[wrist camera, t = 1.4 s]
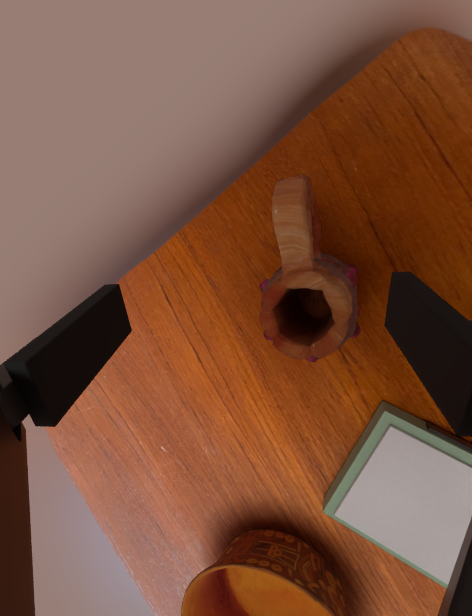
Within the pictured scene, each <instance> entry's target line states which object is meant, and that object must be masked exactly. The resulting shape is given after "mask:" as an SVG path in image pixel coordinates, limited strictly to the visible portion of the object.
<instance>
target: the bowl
mask: <svg viewBox="0 0 472 616" xmlns="http://www.w3.org/2000/svg"><path fill="white" fill-rule="evenodd" d="M181 616H349V612H348V607H347V603H346V599H345V594H344V591H343V588H342V585H341V583H340V581H339V579H338V577H337V576H336V574H335V572H334V570H333V569H332V567H331V566H330V565H329V564H328V563H327V562H326V561H325V559H324V558H323V557H322V556H321V555H320V554H319V553H318V552H317V551H316V550H314V549H313V548H312V547H311V546H309V545H308V544H307V543H305V542H303V541H302V540H300V539H298V538H297V537H295V536H292V535H289V534H287V533H284V532H279V531H274V530H252V531H248V532H245V533H243V534H241V535H239V536H237V537H236V538H234V539H233V540H232V541H231V542H230V543H229V545H228V546H227V547H226V549H225V550H224V552H223V554H222V555H221V557H220V558H219V560H218V561H217V562H216V563H215V564H213V565H211V566H209V567H208V568H206V569H205V570H203V571H202V572H201V573H199V574H198V575H197V576H196V577H195V578H194V579H193V580H192V582H191V583H190V584H189V586H188V588H187V590H186V592H185V595H184V598H183V602H182V607H181Z"/></svg>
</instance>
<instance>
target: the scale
mask: <svg viewBox="0 0 472 616" xmlns="http://www.w3.org/2000/svg"><path fill="white" fill-rule="evenodd" d="M323 512H324V513H325V514H327V515H328V516H330V517H332V518H333V519H335V520H336V521H338V522H340V523H341V524H343V525H345V526H346V527H348V528H349V529H351V530H353V531H354V532H356V533H357V534H359V535H361V536H362V537H364V538H366V539H367V540H369V541H370V542H372V543H374V544H375V545H377V546H379V547H380V548H382V549H383V550H385V551H387V552H388V553H390V554H391V555H393V556H395V557H396V558H398V559H400V560H401V561H403V562H404V563H406V564H408V565H409V566H411V567H413V568H414V569H416V570H417V571H419V572H421V573H422V574H424V575H425V576H427V577H429V578H430V579H432V580H434V581H435V582H437V583H438V584H440V585H442V586H443V587H445V588H447V587H448V584H449V581H450V578H451V575H452V572H453V569H454V566H455V563H456V560H457V558H458V555H459V552H460V549H461V546H462V543H463V540H464V537H465V534H466V531H467V529H468V526H469V523H470V520H471V517H472V444H470V443H468V442H466V441H464V440H462V439H460V438H458V437H456V436H454V435H452V434H450V433H448V432H446V431H444V430H442V429H440V428H438V427H436V426H434V425H432V424H430V423H428V422H425V421H423V420H421V419H419V418H417V417H415V416H413V415H411V414H409V413H407V412H405V411H402V410H400V409H398V408H396V407H394V406H392V405H390V404H388V403H386V402H384V401H382V402H381V404H380V405H379V407H378V409H377V410H376V412H375V414H374V415H373V417H372V419H371V420H370V422H369V424H368V425H367V427H366V428H365V430H364V432H363V433H362V435H361V437H360V438H359V440H358V442H357V443H356V445H355V447H354V448H353V450H352V452H351V453H350V455H349V457H348V458H347V460H346V462H345V463H344V465H343V466H342V468H341V470H340V471H339V473H338V475H337V476H336V478H335V480H334V481H333V483H332V485H331V486H330V488H329V490H328V491H327V493H326V495H325V496H324V503H323Z"/></svg>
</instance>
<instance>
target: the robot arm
mask: <svg viewBox="0 0 472 616" xmlns="http://www.w3.org/2000/svg"><path fill="white" fill-rule="evenodd" d="M384 326H385V327H386V329H387V330H388V332H389V333H390V335H391V336H392V338H393V339H394V341H395V342H396V344H397V345H398V347H399V348H400V350H401V351H402V353H403V354H404V356H405V357H406V359H407V360H408V362H409V364H410V365H411V367H412V368H413V370H414V371H415V373H416V374H417V376H418V377H419V379H420V380H421V382H422V383H423V385H424V386H425V388H426V389H427V391H428V392H429V394H430V395H431V397H432V398H433V400H434V402H435V403H436V405H437V406H438V408H439V409H440V411H441V412H442V414H443V415H444V417H445V418H446V420H447V421H448V423H449V424H450V426H451V427H452V429H453V430H454V432H455V433H456V435H457V436H472V321H468V320H467V319H466V318H465V317H464V316H462V315H461V314H460V313H459V312H458V311H457V310H455V309H454V308H453V307H452V306H451V305H449V304H448V303H447V302H446V301H445V300H443V299H442V298H441V297H440V296H439V295H438V294H436V293H435V292H434V291H433V290H432V289H430V288H429V287H428V286H427V285H426V284H425V283H423V282H422V281H421V280H420V279H419V278H417V277H416V276H415V275H414V274H413V273H411V272H410V271H409V272H392V277H391V283H390V290H389V297H388V304H387V311H386V318H385V324H384ZM131 331H132V330H131V326H130V322H129V319H128V315H127V311H126V308H125V304H124V301H123V297H122V293H121V290H120V286H119V284H110V285H104V286H103V287H101V288H100V289H99V290H98V291H96V292H95V293H94V294H92V295H91V296H90V297H88V298H87V299H86V300H85V301H83V302H82V303H81V304H79V305H78V306H77V307H76V308H74V309H73V310H72V311H70V312H69V313H68V314H67V315H65V316H64V317H63V318H62V319H60V320H59V321H58V322H56V323H55V324H54V325H52V326H51V327H50V328H48V329H47V330H46V331H45V332H43V333H42V334H41V335H40V336H38V337H36V338H35V339H33V340H32V341H31V342H30V343H28V344H27V345H26V346H25V347H23V348H22V349H20V350H19V352H17V353H15V354H14V355H13V356H12V357H10V358H9V359H8V360H7V361H5V362H4V363H2V364H1V365H0V616H35V607H34V606H35V605H34V586H33V565H32V546H31V526H30V506H29V486H28V466H27V448H26V429H25V428H24V426H23V424H22V421H23V420H24V419H25V417H26V416H27V415H28V414H30V416H31V418H32V420H33V422H34V424H35V426H48V427H55V426H56V425H57V424H58V422H59V421H60V420H61V419H62V417H63V416H64V415H65V414H66V412H67V411H68V410H69V409H70V407H71V406H72V405H73V404H74V402H75V401H76V400H77V399H78V397H79V396H80V395H81V394H82V392H83V391H84V390H85V389H86V387H87V386H88V385H89V384H90V382H91V381H92V380H93V379H94V377H95V376H96V375H97V374H98V372H99V371H100V370H101V369H102V367H103V366H104V365H105V364H106V362H107V361H108V360H109V359H110V357H111V356H112V355H113V354H114V352H115V351H116V350H117V349H118V347H119V346H120V345H121V344H122V342H123V341H124V340H125V339H126V337H127V336H128V335H129V334H130V332H131ZM438 616H472V517H471V520H470V523H469V526H468V529H467V531H466V534H465V537H464V540H463V543H462V546H461V549H460V552H459V555H458V558H457V560H456V563H455V566H454V569H453V572H452V575H451V578H450V581H449V584H448V587H447V590H446V592H445V595H444V598H443V601H442V604H441V607H440V610H439V613H438Z"/></svg>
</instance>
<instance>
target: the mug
mask: <svg viewBox="0 0 472 616" xmlns="http://www.w3.org/2000/svg"><path fill="white" fill-rule="evenodd" d="M272 219H273V226H274V230H275V234H276V238H277V242H278V245H279V249H280V255H281V261H282V267H281V268H280V269H279V270H278V271H276V272H275V274H274V275H273V276H272V277H271V279H270V280H265V281H263V282H261V284H260V289H261V291H262V292H263V298H262V311H261V313H260V323H261V325H262V327H263V328H264V336H265V339H267V340H272V341H273V345H274V346H275V348H276V349H277V350H278V351H280V352H281V353H282V354H284V355H286V356H289V357H291V358H293V359H308V360H309V361H310V362H316V361H317V360H318V359H321V358H323V357H325V356H327V355H329V354H331V353H332V352H334V351H335V350H337V349H338V348H339V347H341V346H342V345H343V344H344V343H345V342H346V340H348V339H349V338H350V337H352V338H353V337H357V336H358V335H359V334H360V331H361V328H360V326H359V324H358V323H357V322H356V320H357V317H358V316H359V310H358V304H357V293H358V292H357V286H356V283H357V271H358V270H357V268H356V267H355V265H352V264H349V265H345V264H344V263H343V262H342V261H341V260H339V259H337V258H335V257H333V256H331V255H328V254H324V253H320V240H321V233H322V226H321V224H320V221H319V218H318V212H317V207H316V202H315V197H314V192H313V188H312V184H311V180H310V178H309V177H308V176H307V175H304V174H302V175H298V176H294V177H290V178H286V179H280V180H279V181H278V182H277V183H276V185H275V189H274V193H273V197H272Z"/></svg>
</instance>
